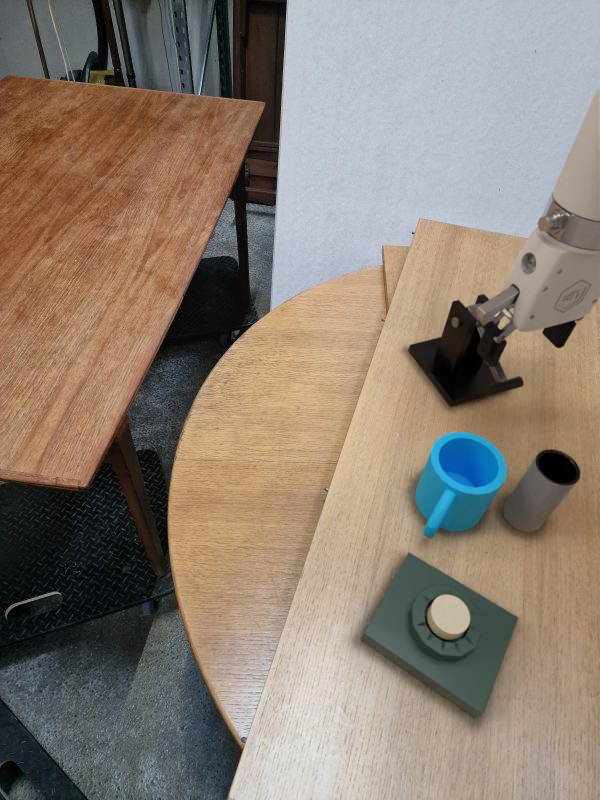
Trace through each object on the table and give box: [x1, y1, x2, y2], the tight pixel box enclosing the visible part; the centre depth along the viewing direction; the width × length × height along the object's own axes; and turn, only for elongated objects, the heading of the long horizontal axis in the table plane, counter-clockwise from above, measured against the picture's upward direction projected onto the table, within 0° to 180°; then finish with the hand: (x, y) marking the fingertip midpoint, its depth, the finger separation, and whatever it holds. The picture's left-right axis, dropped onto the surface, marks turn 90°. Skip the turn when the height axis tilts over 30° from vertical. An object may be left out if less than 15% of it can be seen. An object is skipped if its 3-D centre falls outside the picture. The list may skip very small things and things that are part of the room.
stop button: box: [427, 595, 470, 640], centre depth 48 cm, size 4×4×2 cm
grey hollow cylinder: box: [502, 448, 581, 533], centre depth 57 cm, size 4×4×10 cm
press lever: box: [465, 303, 525, 397], centre depth 68 cm, size 12×5×2 cm, turn 21°
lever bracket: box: [407, 293, 501, 408], centre depth 72 cm, size 12×9×12 cm
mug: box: [414, 431, 508, 539], centre depth 58 cm, size 12×8×8 cm
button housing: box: [360, 552, 519, 719], centre depth 50 cm, size 12×10×4 cm
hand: (519, 349), depth 62 cm, fingers open, 9 cm apart
